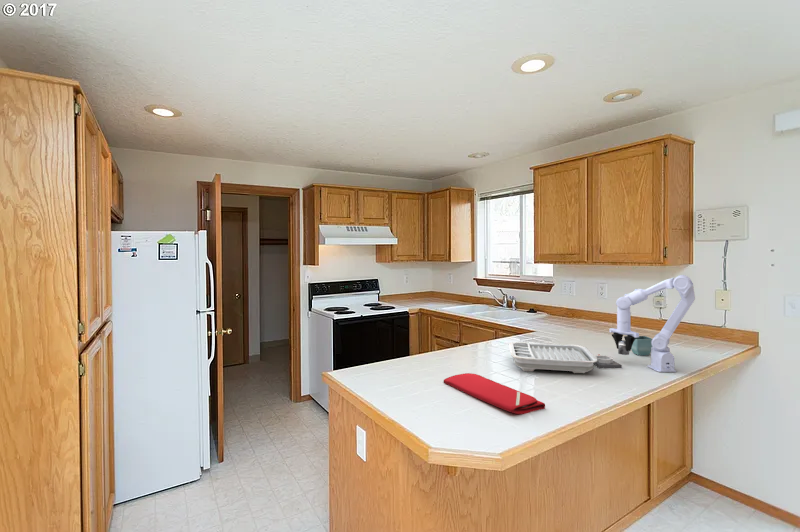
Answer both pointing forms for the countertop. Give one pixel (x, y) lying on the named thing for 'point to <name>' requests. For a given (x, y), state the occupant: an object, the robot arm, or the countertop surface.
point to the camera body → (606, 362)
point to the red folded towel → (495, 393)
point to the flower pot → (642, 345)
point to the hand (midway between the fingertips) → (623, 349)
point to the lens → (622, 347)
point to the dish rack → (552, 357)
